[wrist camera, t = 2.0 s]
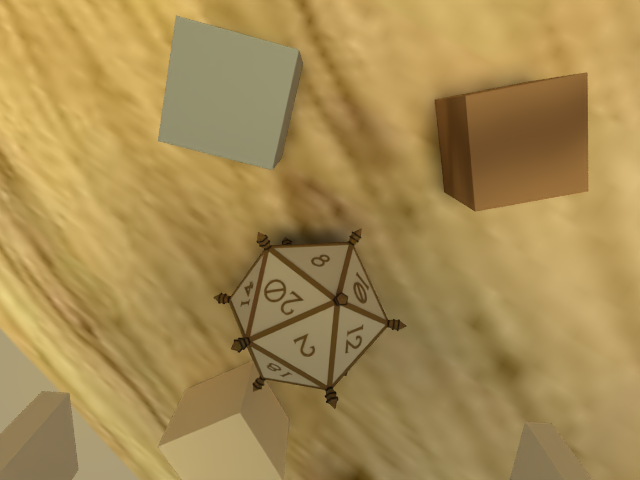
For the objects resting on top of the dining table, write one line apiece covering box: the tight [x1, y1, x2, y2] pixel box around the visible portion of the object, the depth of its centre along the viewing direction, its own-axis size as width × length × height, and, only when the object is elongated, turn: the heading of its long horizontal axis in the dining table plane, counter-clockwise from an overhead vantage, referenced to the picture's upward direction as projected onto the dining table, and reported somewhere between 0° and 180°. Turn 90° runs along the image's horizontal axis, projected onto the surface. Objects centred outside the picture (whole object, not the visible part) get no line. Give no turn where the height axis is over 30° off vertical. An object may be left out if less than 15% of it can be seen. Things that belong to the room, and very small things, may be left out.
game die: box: [214, 229, 406, 409], centre depth 22 cm, size 9×8×10 cm
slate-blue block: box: [158, 16, 303, 170], centre depth 20 cm, size 5×5×5 cm
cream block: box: [158, 361, 289, 480], centre depth 26 cm, size 5×5×5 cm
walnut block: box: [435, 73, 588, 211], centre depth 21 cm, size 5×5×5 cm
